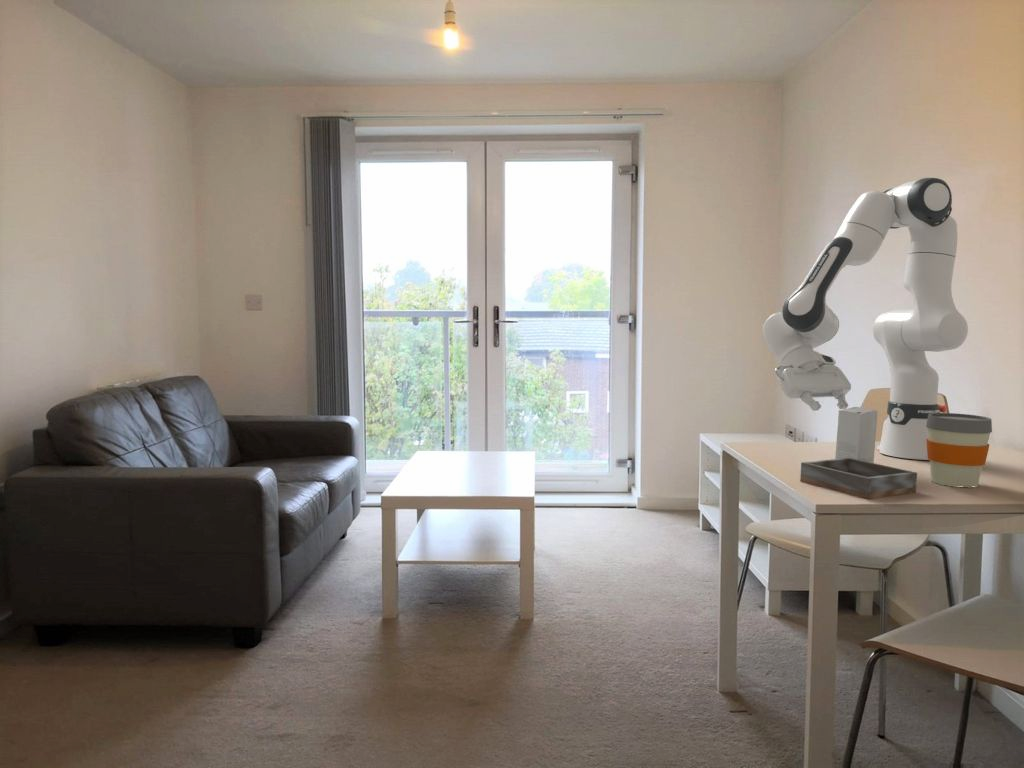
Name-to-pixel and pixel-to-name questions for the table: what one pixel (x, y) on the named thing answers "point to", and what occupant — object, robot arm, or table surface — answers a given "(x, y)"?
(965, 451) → the reusable coffee cup
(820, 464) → the open storage bin
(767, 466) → the table surface
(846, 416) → the skincare box
